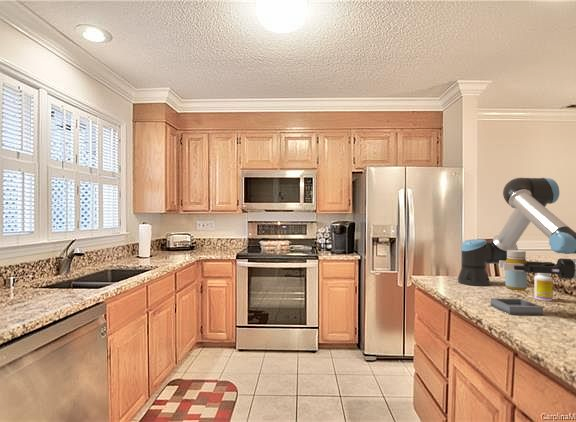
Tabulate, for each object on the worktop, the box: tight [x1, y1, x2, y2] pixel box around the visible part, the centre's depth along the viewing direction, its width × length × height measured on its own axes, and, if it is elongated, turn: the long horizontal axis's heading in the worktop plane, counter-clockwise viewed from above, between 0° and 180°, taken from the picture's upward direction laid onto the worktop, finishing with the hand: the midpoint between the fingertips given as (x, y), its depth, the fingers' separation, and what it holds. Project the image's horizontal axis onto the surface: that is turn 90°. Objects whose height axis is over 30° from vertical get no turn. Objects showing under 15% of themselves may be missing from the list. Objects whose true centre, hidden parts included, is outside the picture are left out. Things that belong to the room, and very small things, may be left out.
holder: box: [490, 297, 544, 316], centre depth 138 cm, size 12×12×3 cm
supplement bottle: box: [533, 273, 554, 302], centre depth 154 cm, size 7×7×13 cm
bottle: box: [504, 249, 528, 292], centre depth 137 cm, size 7×7×15 cm
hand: (501, 265), depth 139 cm, fingers closed on bottle, 7 cm apart
